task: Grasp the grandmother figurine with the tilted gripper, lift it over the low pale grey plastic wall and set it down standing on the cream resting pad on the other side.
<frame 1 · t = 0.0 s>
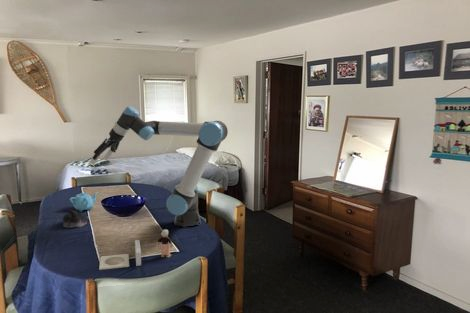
hand: (98, 161, 197), 36 cm above the table, tool tilted 35°, fingers open, 13 cm apart
resting pad: (114, 262, 156), on the table
crystal cluster: (74, 225, 200), on the table
teapot: (85, 209, 227), on the table
low wall: (137, 258, 160), on the table
grandmother figurine: (164, 256, 163), on the table
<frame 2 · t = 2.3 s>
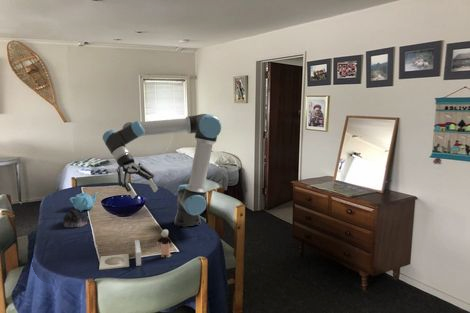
hand: (145, 193, 165), 28 cm above the table, tool tilted 45°, fingers open, 13 cm apart
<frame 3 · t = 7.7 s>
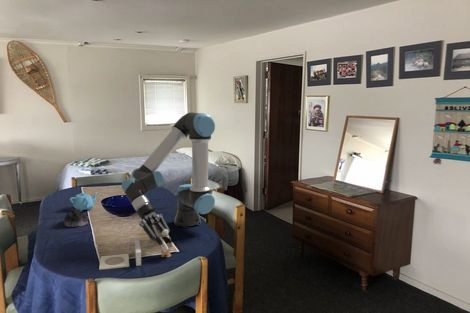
hand: (169, 248, 161), 4 cm above the table, tool tilted 45°, fingers closed on grandmother figurine, 3 cm apart
grandmother figurine: (164, 256, 163), on the table, touching gripper
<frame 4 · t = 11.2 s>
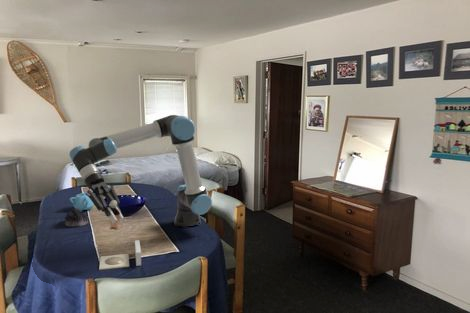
hand: (118, 220, 151), 20 cm above the table, tool tilted 45°, fingers closed on grandmother figurine, 3 cm apart
grandmother figurine: (113, 228, 153), point 15 cm above the table, touching gripper
when the fingers open (5 cm above the table, at t = 14.7 s): grandmother figurine stays where it is, resting on resting pad.
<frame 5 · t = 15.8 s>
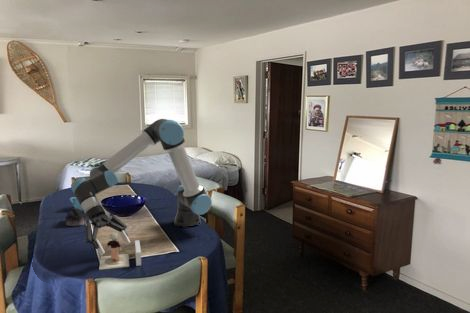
hand: (116, 248, 154), 6 cm above the table, tool tilted 45°, fingers open, 13 cm apart
grandmother figurine: (114, 260, 156), point 1 cm above the table, touching resting pad
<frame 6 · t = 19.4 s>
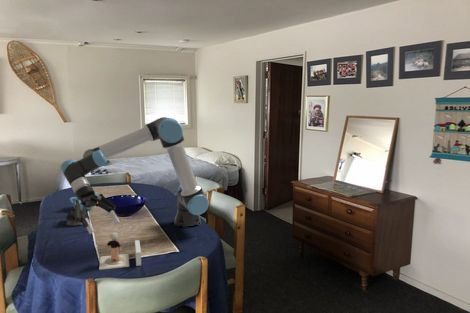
hand: (105, 227, 156), 15 cm above the table, tool tilted 45°, fingers open, 13 cm apart
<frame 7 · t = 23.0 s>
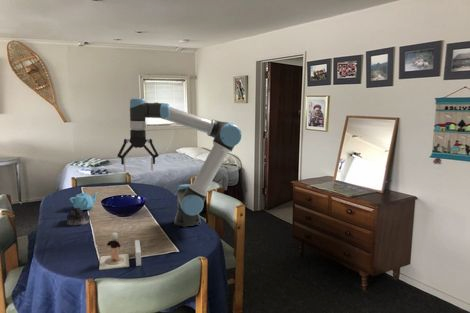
hand: (138, 170, 182), 35 cm above the table, tool pointing down, fingers open, 13 cm apart
at the end: grandmother figurine inside the target area on the resting pad (0.3 cm from its centre), point 0.5 cm above the resting pad's base; grandmother figurine tilted 0°; the gripper is holding nothing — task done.
